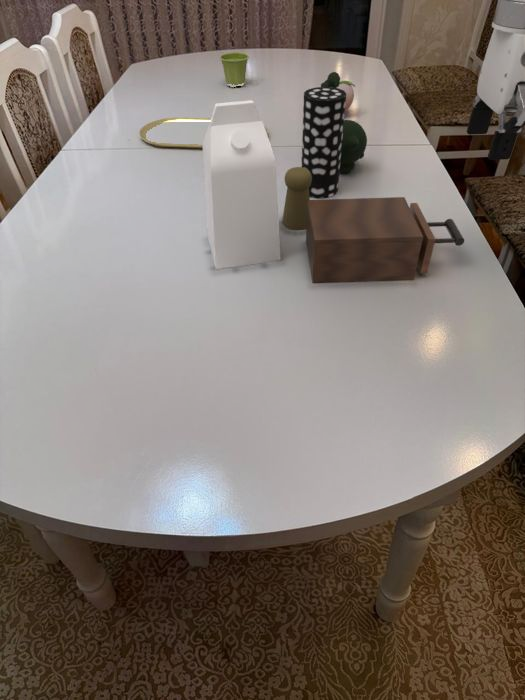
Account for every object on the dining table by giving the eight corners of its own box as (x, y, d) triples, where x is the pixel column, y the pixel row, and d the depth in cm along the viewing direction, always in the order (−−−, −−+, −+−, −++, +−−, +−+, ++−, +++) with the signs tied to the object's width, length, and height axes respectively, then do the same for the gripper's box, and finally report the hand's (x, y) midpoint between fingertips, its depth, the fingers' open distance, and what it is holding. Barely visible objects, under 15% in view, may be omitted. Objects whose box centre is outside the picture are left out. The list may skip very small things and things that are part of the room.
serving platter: (262, 153, 126) (262, 146, 125) (130, 148, 130) (129, 142, 129) (271, 125, 140) (271, 120, 138) (152, 122, 144) (151, 116, 143)
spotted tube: (345, 191, 110) (355, 94, 96) (316, 202, 107) (321, 103, 93) (321, 178, 115) (327, 84, 102) (293, 187, 112) (295, 92, 98)
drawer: (443, 234, 95) (451, 201, 90) (463, 272, 86) (474, 237, 81) (324, 238, 95) (326, 205, 90) (332, 276, 86) (335, 242, 81)
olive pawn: (278, 227, 100) (278, 174, 92) (287, 213, 104) (288, 161, 96) (306, 232, 98) (309, 178, 91) (315, 217, 102) (318, 165, 95)
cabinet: (396, 238, 96) (404, 196, 90) (413, 280, 86) (423, 236, 80) (305, 241, 96) (307, 199, 90) (312, 283, 86) (314, 240, 80)
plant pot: (254, 82, 168) (253, 53, 162) (242, 91, 162) (240, 61, 156) (229, 79, 171) (228, 51, 165) (217, 88, 165) (214, 58, 159)
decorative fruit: (326, 122, 141) (328, 83, 134) (317, 112, 146) (319, 75, 140) (357, 118, 142) (361, 80, 135) (347, 109, 148) (350, 72, 141)
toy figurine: (307, 150, 131) (333, 184, 112) (309, 69, 119) (338, 91, 100) (342, 147, 132) (374, 180, 113) (347, 66, 120) (383, 88, 101)
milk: (266, 228, 100) (264, 88, 82) (280, 260, 92) (281, 112, 73) (207, 236, 98) (191, 95, 80) (216, 269, 90) (200, 120, 72)
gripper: (585, 29, 59) (534, 169, 71) (526, 1, 71) (491, 124, 83) (522, 31, 59) (481, 170, 71) (474, 3, 71) (446, 125, 83)
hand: (486, 145), depth 77 cm, fingers open, 9 cm apart
